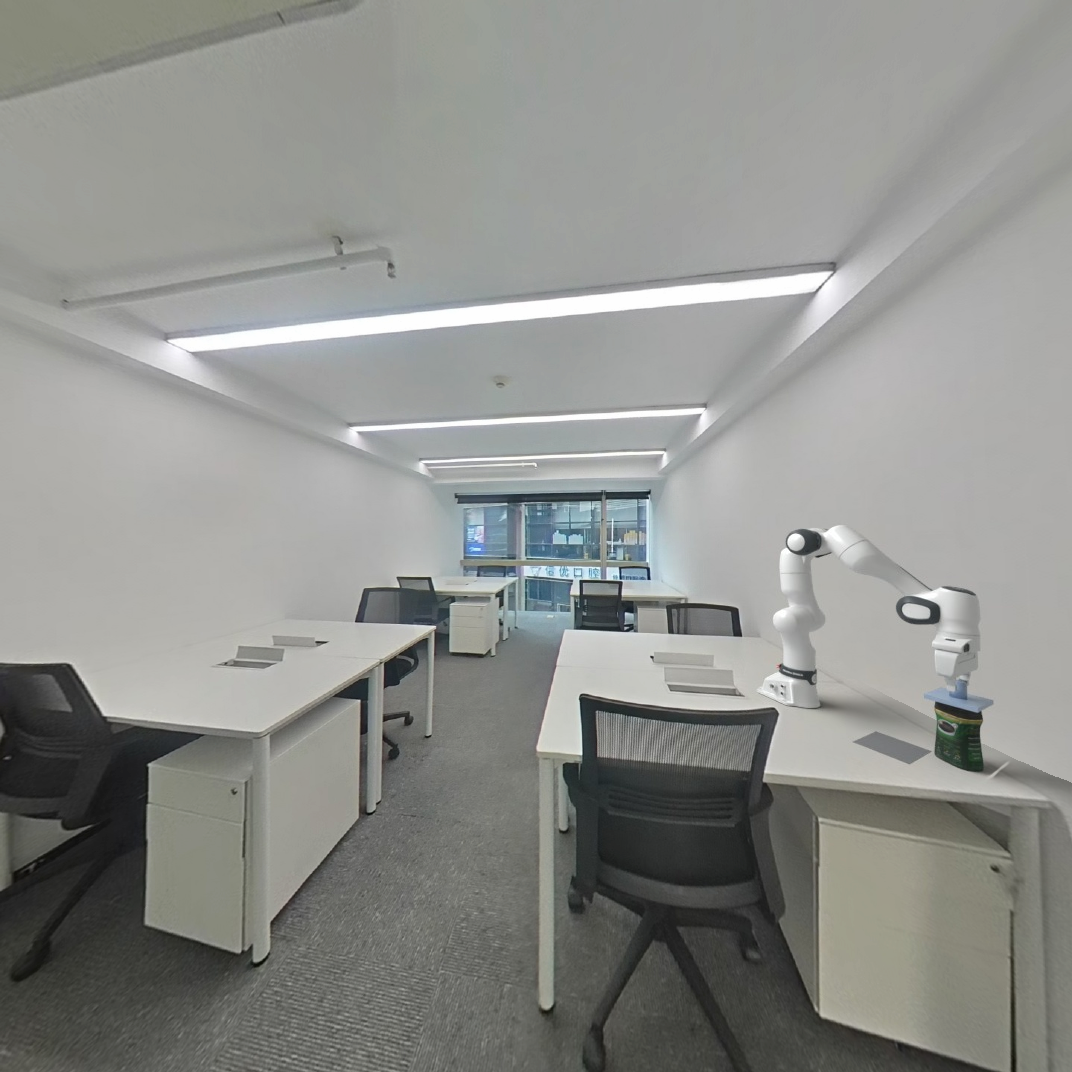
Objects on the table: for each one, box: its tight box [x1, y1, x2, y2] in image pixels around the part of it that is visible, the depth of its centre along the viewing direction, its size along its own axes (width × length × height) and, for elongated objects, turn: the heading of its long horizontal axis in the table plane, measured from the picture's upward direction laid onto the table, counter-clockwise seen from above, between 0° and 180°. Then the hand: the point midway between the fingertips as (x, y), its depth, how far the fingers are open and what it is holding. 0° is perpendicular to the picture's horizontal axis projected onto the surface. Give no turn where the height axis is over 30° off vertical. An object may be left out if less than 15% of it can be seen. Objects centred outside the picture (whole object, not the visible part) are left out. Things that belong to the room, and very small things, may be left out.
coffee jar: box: [933, 701, 984, 772], centre depth 114 cm, size 10×8×19 cm
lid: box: [923, 679, 995, 713], centre depth 114 cm, size 11×13×6 cm
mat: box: [852, 731, 932, 765], centre depth 122 cm, size 14×16×1 cm
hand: (957, 688), depth 115 cm, fingers open, 8 cm apart
